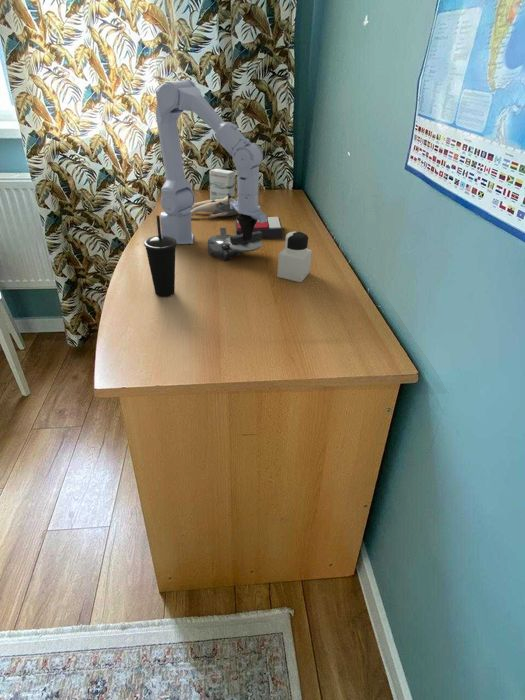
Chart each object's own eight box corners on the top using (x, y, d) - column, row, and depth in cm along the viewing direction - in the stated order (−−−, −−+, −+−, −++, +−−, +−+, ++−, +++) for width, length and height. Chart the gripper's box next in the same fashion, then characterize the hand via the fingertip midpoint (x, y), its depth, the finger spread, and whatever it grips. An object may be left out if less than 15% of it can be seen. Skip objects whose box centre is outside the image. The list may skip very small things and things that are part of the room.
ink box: (235, 202, 178) (235, 170, 171) (229, 205, 174) (229, 173, 167) (215, 198, 180) (215, 167, 174) (209, 202, 177) (208, 170, 170)
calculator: (235, 216, 155) (279, 215, 156) (236, 228, 158) (279, 227, 158) (236, 228, 146) (282, 226, 147) (236, 240, 149) (282, 239, 150)
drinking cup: (154, 302, 112) (146, 223, 100) (146, 288, 117) (136, 212, 106) (184, 296, 115) (179, 219, 103) (174, 283, 120) (168, 208, 109)
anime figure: (166, 199, 163) (249, 187, 166) (171, 219, 168) (251, 207, 170) (167, 208, 156) (253, 195, 158) (171, 228, 160) (255, 216, 163)
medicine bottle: (309, 273, 129) (314, 232, 122) (300, 283, 124) (305, 241, 117) (286, 267, 132) (289, 227, 125) (276, 277, 126) (279, 235, 119)
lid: (231, 255, 127) (231, 246, 126) (213, 241, 135) (212, 232, 133) (270, 247, 134) (271, 238, 132) (251, 234, 141) (251, 225, 139)
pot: (208, 261, 133) (208, 249, 131) (207, 237, 147) (207, 227, 145) (242, 260, 134) (242, 249, 132) (238, 237, 148) (238, 227, 146)
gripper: (276, 196, 123) (273, 244, 130) (243, 183, 132) (243, 229, 139) (255, 201, 119) (254, 250, 127) (223, 187, 128) (224, 234, 136)
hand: (247, 239), depth 133 cm, fingers closed, pressing on lid
